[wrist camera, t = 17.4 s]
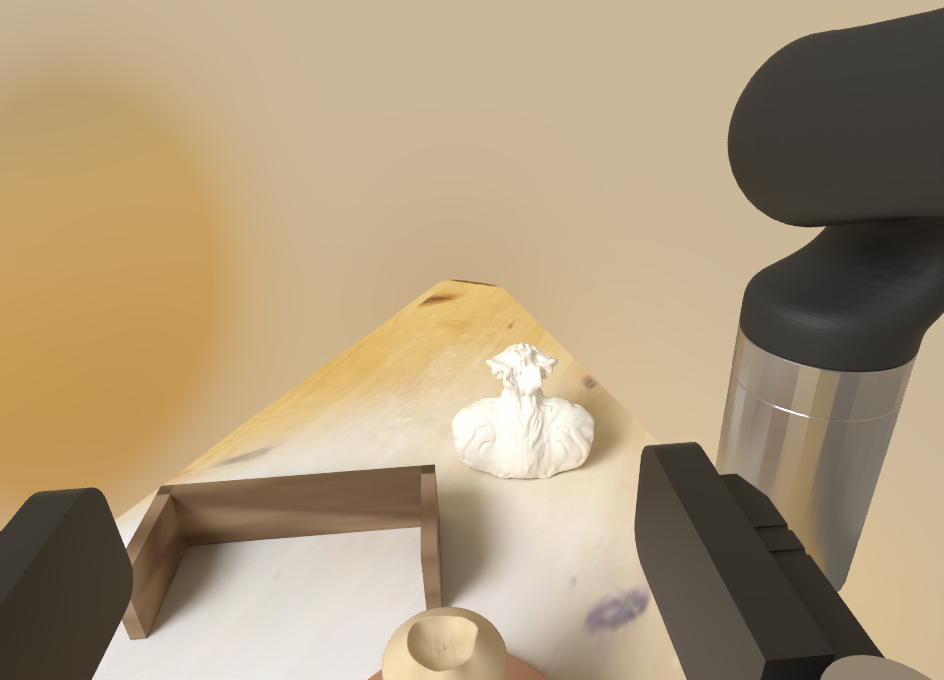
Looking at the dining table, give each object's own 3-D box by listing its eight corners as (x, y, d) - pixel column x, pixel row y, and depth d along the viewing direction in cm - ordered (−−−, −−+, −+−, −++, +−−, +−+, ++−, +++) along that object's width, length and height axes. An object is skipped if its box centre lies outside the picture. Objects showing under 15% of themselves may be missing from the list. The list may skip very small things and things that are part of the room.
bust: (591, 477, 56) (586, 351, 58) (603, 480, 49) (596, 336, 51) (456, 477, 57) (455, 353, 59) (447, 480, 49) (447, 338, 51)
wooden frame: (178, 537, 49) (161, 485, 46) (439, 515, 49) (434, 464, 47) (130, 639, 41) (106, 584, 38) (442, 612, 41) (437, 556, 39)
